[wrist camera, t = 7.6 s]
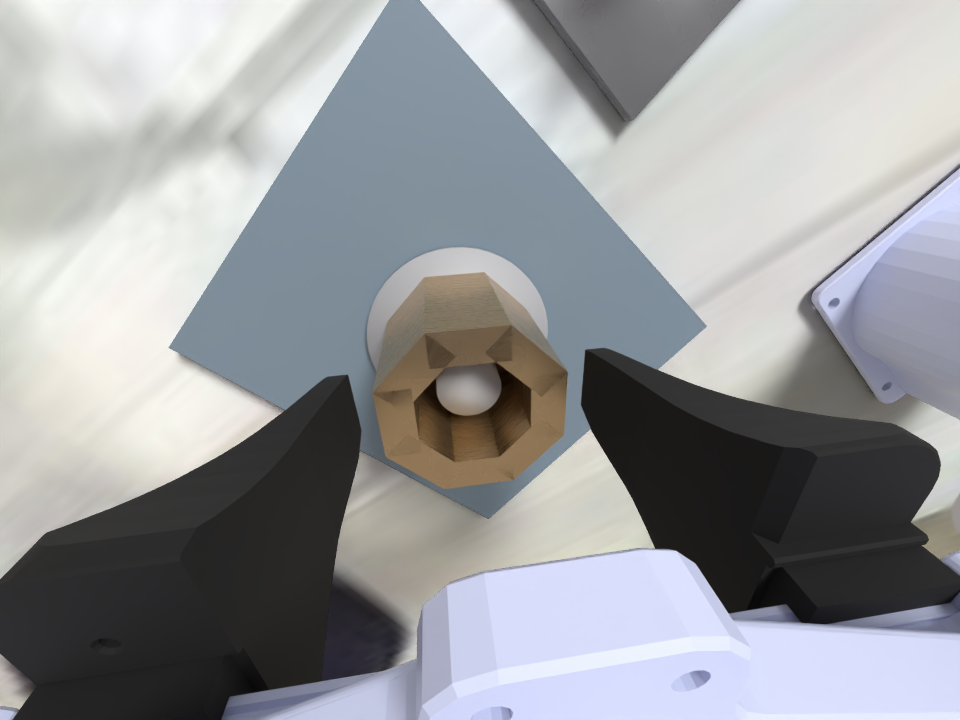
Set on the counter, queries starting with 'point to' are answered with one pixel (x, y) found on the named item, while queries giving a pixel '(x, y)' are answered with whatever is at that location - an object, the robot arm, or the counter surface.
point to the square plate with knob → (633, 41)
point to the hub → (424, 244)
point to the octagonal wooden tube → (458, 342)
